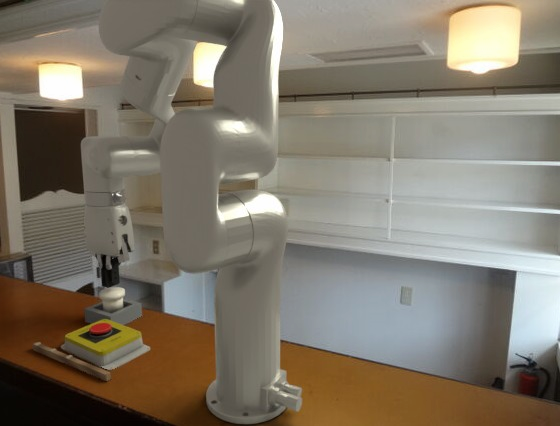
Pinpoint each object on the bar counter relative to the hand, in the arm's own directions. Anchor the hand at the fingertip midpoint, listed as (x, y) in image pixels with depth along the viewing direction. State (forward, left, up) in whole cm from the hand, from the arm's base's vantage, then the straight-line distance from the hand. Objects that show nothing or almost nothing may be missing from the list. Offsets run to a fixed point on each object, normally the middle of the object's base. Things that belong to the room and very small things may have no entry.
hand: (110, 285), depth 92 cm
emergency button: (-9, +9, -8) cm, 15 cm away
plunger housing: (0, 0, -8) cm, 8 cm away
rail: (-8, +16, -8) cm, 20 cm away
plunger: (0, 0, -5) cm, 5 cm away
